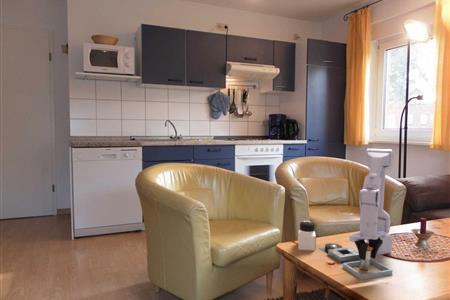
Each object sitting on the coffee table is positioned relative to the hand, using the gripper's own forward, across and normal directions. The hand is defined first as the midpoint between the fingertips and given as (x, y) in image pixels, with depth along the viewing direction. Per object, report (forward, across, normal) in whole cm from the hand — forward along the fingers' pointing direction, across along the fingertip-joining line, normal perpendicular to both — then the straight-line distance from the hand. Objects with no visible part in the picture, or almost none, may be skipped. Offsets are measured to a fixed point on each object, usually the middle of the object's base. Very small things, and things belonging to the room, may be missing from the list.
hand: (367, 258), depth 122 cm
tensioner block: (+6, 0, +16) cm, 17 cm away
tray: (+6, 0, 0) cm, 6 cm away
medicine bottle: (+6, -9, +27) cm, 29 cm away
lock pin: (+4, 0, +1) cm, 4 cm away
